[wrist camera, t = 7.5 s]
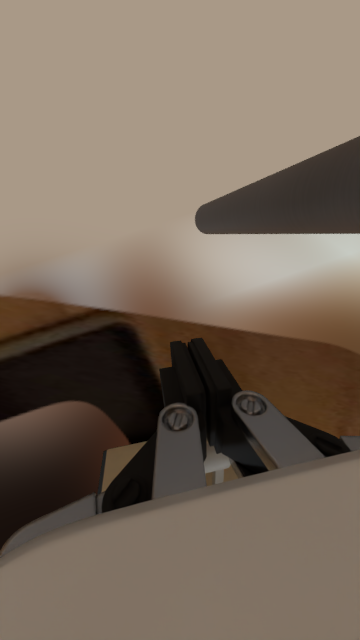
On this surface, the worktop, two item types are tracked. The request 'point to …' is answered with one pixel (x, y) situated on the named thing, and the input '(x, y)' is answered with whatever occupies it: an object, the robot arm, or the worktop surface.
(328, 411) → the worktop surface
